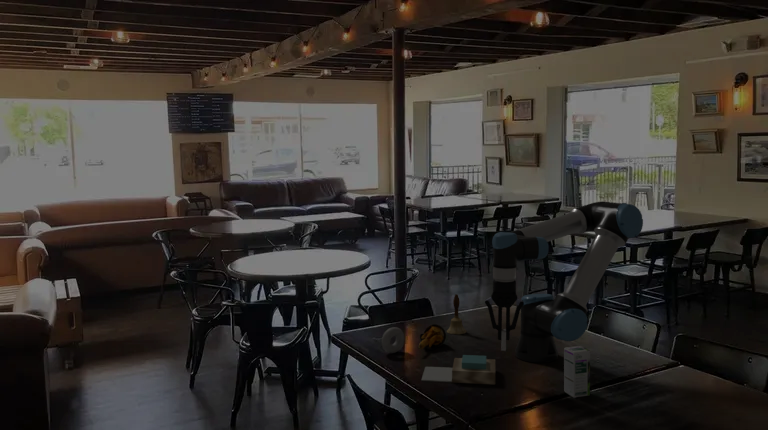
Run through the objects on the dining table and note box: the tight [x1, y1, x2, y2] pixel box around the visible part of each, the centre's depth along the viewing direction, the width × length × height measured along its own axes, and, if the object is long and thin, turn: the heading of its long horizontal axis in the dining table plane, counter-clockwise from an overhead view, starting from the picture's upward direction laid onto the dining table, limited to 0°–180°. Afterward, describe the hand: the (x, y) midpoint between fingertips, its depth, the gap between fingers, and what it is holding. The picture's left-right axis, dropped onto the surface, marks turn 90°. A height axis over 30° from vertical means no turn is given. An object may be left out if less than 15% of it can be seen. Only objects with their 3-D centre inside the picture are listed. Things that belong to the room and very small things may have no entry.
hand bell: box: [446, 293, 467, 335], centre depth 265 cm, size 8×8×16 cm
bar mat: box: [421, 366, 453, 383], centre depth 216 cm, size 10×13×1 cm
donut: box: [381, 326, 405, 354], centre depth 239 cm, size 10×4×10 cm, turn 125°
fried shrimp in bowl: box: [417, 323, 447, 351], centre depth 243 cm, size 9×11×18 cm
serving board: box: [451, 357, 496, 385], centre depth 213 cm, size 14×13×4 cm
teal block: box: [461, 354, 487, 369], centre depth 213 cm, size 8×8×2 cm
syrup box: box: [563, 345, 591, 399], centre depth 196 cm, size 6×6×14 cm
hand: (503, 349), depth 211 cm, fingers closed
